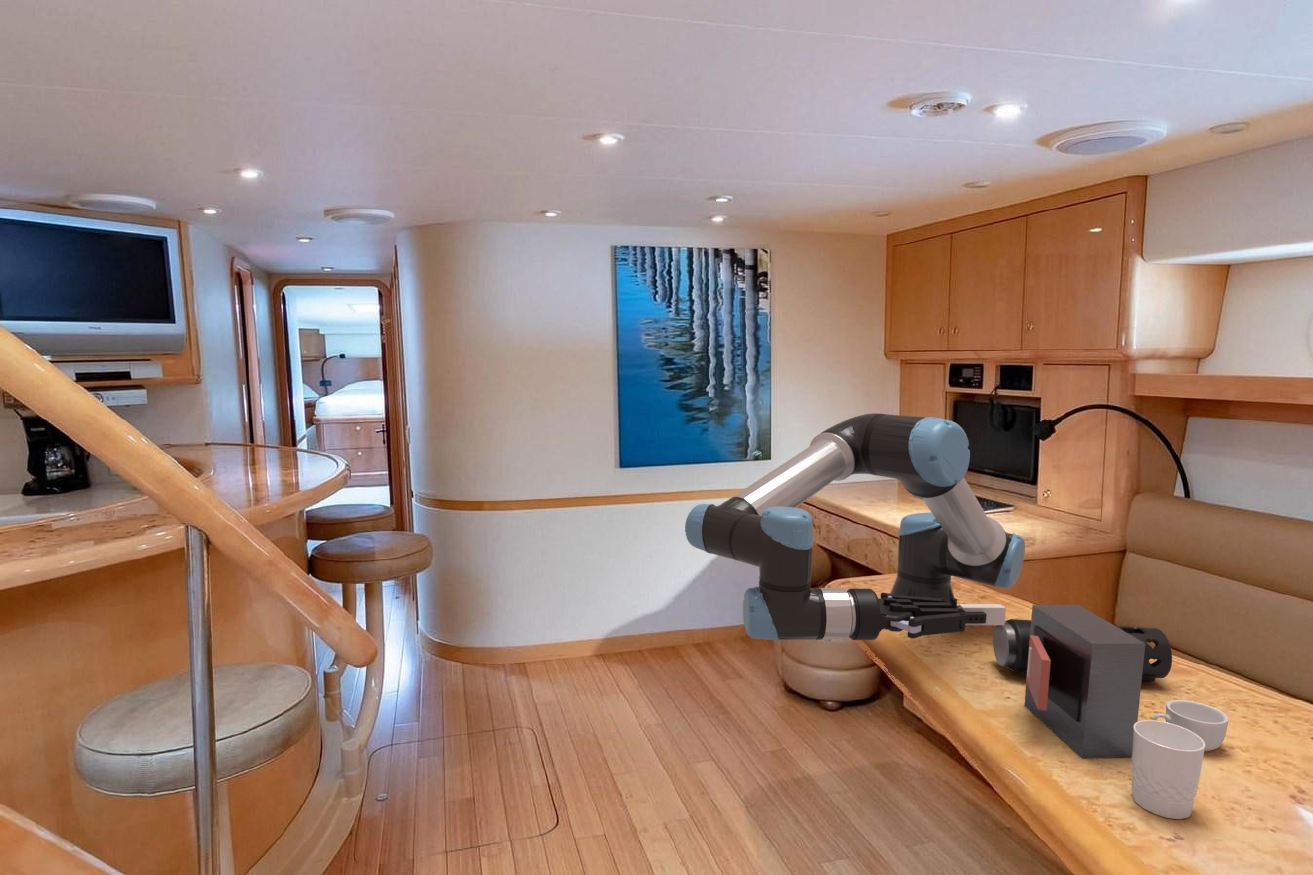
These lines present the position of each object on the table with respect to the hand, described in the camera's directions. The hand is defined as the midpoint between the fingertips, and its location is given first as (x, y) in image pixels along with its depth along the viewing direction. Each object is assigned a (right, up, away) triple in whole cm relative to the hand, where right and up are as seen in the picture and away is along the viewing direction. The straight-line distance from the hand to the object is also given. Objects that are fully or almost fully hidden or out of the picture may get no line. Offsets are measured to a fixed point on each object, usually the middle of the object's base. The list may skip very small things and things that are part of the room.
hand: (1002, 614), depth 110 cm
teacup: (+31, -21, +4) cm, 38 cm away
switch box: (+15, -21, +8) cm, 27 cm away
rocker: (+8, -14, +7) cm, 18 cm away
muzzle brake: (+27, -19, +27) cm, 42 cm away
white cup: (+16, -23, -11) cm, 30 cm away
